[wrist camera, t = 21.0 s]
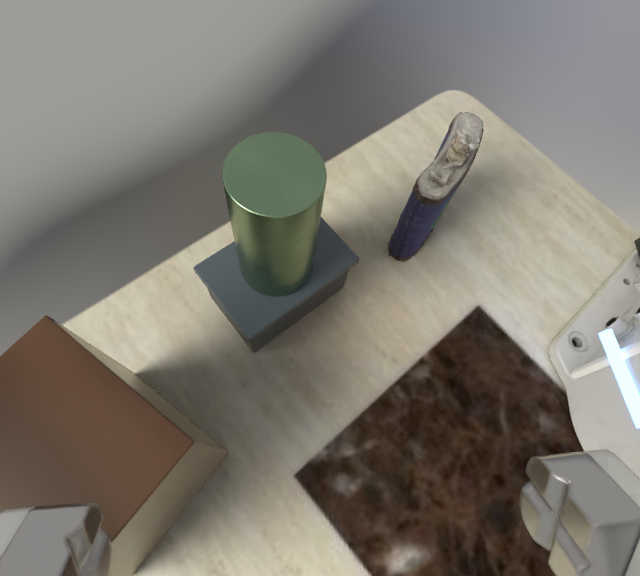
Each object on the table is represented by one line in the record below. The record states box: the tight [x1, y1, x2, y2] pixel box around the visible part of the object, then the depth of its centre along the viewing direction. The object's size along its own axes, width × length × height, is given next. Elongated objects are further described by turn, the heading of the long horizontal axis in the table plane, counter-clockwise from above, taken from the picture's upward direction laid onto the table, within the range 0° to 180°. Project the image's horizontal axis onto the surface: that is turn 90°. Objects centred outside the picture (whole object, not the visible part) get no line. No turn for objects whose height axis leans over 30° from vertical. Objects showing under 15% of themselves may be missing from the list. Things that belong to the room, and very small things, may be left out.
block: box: [0, 316, 228, 576], centre depth 23 cm, size 9×9×13 cm
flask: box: [388, 112, 483, 261], centre depth 34 cm, size 9×3×11 cm, turn 150°
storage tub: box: [194, 217, 359, 352], centre depth 32 cm, size 10×6×5 cm
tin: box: [222, 132, 327, 297], centre depth 25 cm, size 5×5×10 cm
